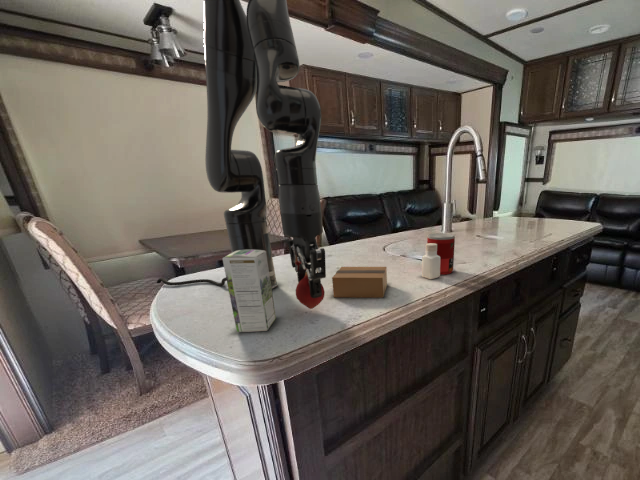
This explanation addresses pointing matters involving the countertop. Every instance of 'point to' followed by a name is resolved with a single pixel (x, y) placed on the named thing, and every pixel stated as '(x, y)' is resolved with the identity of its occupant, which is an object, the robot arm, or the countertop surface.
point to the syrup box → (250, 290)
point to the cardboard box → (360, 282)
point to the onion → (307, 293)
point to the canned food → (444, 250)
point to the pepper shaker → (431, 262)
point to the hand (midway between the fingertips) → (310, 292)
